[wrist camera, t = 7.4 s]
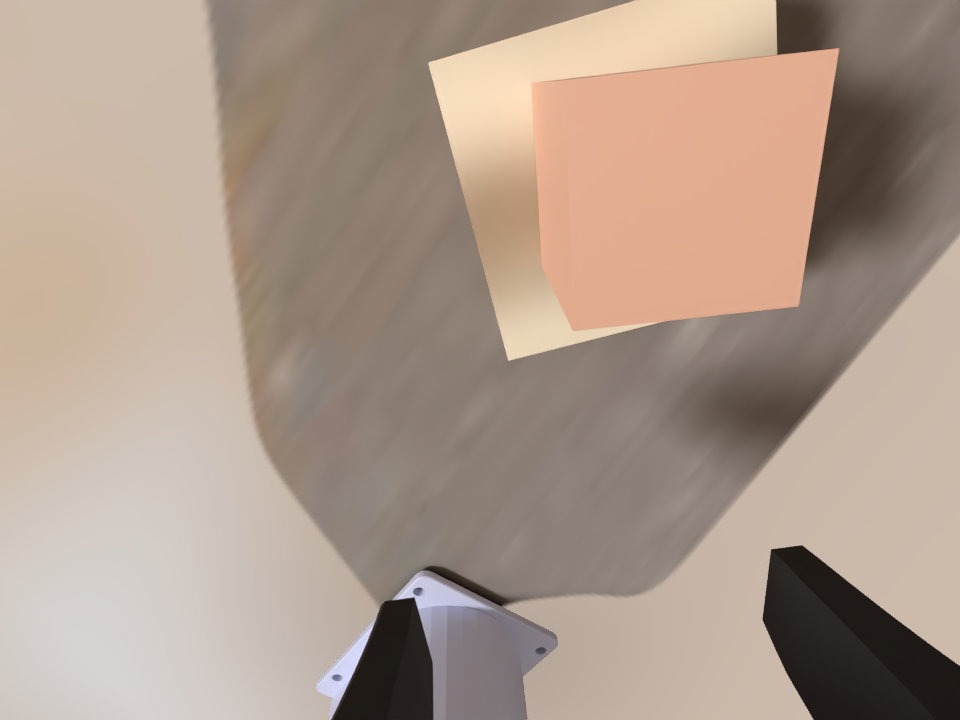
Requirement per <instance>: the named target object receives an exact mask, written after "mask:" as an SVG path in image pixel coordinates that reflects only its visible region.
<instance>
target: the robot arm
mask: <svg viewBox="0 0 960 720" xmlns="http://www.w3.org/2000/svg"><path fill="white" fill-rule="evenodd" d="M417 588H422V589H417ZM763 622H764V624H765V626H766V629H767V631H768V633H769V635H770V638H771V640H772V642H773V644H774V647H775V649H776V651H777V653H778V655H779V657H780V660H781V662H782V664H783V666H784V668H785V670H786V673H787V674H788V676H789V678H790V679H791V681H792V683H793V685H794V686H795V688H796V690H797V691H798V693H799V695H800V697H801V699H802V700H803V702H804V704H805V706H806V707H807V709H808V711H809V712H810V714H811V716H812V718H813V719H814V720H960V666H959V665H958V664H956V663H955V662H953V661H952V660H951V659H949V658H948V657H946V656H945V655H943V654H942V653H941V652H939V651H938V650H937V649H935V648H934V647H933V646H931V645H930V644H928V643H927V642H926V641H924V640H923V639H922V638H920V637H919V636H917V635H916V634H915V633H914V632H912V631H911V630H910V629H908V628H907V627H906V626H904V625H903V624H902V623H900V622H899V621H898V620H896V619H895V618H894V617H892V616H891V615H890V614H889V613H887V612H886V611H885V610H883V609H882V608H881V607H880V606H878V605H877V604H876V603H874V602H873V601H872V600H871V599H869V598H868V597H867V596H865V595H864V594H863V593H862V592H860V591H859V590H858V589H857V588H855V587H854V586H853V585H851V584H850V583H849V582H848V581H846V580H845V579H844V578H843V577H841V576H840V575H839V574H838V573H836V572H835V571H834V570H833V569H831V568H830V567H829V566H828V565H826V564H825V563H824V562H822V561H821V560H820V559H819V558H818V557H816V556H815V555H814V554H812V553H811V552H810V551H808V550H807V549H806V548H805V547H804V546H802V545H801V546H794V547H787V548H779V549H772V550H771V556H770V563H769V572H768V580H767V588H766V596H765V604H764V613H763ZM557 644H558V642H557V637H556V635H555V634H554V633H553V632H551V631H549V630H547V629H545V628H543V627H541V626H539V625H536V624H535V623H533V622H531V621H529V620H527V619H525V618H523V617H521V616H518V615H517V614H515V613H513V612H511V611H509V610H507V609H505V608H503V607H501V606H499V605H497V604H495V603H493V602H491V601H489V600H487V599H485V598H483V597H481V596H479V595H477V594H475V593H473V592H471V591H469V590H467V589H465V588H463V587H461V586H459V585H457V584H455V583H453V582H451V581H449V580H447V579H445V578H443V577H441V576H439V575H437V574H435V573H433V572H431V571H421V572H419V573H417V574H416V575H415V576H414V577H413V578H412V579H411V580H410V581H409V582H408V584H407V585H406V586H405V587H404V588H403V589H402V590H401V591H400V592H399V593H398V594H397V595H396V596H395V598H394V599H393V600H391V601H385V602H384V603H383V604H382V605H381V607H380V610H379V613H378V615H377V617H376V618H375V619H374V620H373V621H372V622H371V623H370V624H369V626H368V627H367V628H366V629H365V630H364V631H363V632H362V633H361V634H360V635H359V636H358V637H357V638H356V640H355V641H354V642H353V643H352V644H351V645H350V646H349V647H348V648H347V649H346V650H345V651H344V653H342V655H341V656H340V657H339V658H338V659H337V660H336V661H335V662H334V663H333V664H332V665H331V666H330V667H329V669H328V670H327V671H326V672H325V673H324V674H323V675H322V676H321V677H320V678H319V680H318V683H317V690H318V691H319V692H320V693H321V694H323V695H326V696H329V697H331V698H332V703H331V709H330V713H329V718H328V720H527V713H526V704H525V695H524V687H523V678H522V677H523V676H524V675H525V674H526V673H527V672H528V671H529V670H531V669H532V668H533V667H534V666H535V665H536V664H538V663H539V662H540V661H541V660H542V659H543V658H544V657H546V656H547V655H548V654H549V653H550V652H551V651H552V650H554V649H555V648H556V646H557Z"/></svg>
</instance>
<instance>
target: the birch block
mask: <svg viewBox="0 0 960 720" xmlns="http://www.w3.org/2000/svg"><path fill="white" fill-rule="evenodd" d="M771 55H777V22H776V0H636V1H632V2H629V3H626V4H622V5H619V6H616V7H612V8H609V9H606V10H602V11H599V12H596V13H592V14H589V15H586V16H582V17H579V18H576V19H572V20H569V21H566V22H562V23H559V24H556V25H552V26H549V27H546V28H542V29H539V30H536V31H532V32H529V33H526V34H522V35H519V36H516V37H512V38H509V39H506V40H502V41H499V42H496V43H492V44H489V45H486V46H482V47H479V48H476V49H472V50H469V51H466V52H462V53H459V54H456V55H452V56H449V57H446V58H442V59H439V60H436V61H432V62H429V63H428V64H429V67H430V71H431V75H432V79H433V82H434V86H435V90H436V93H437V97H438V101H439V105H440V108H441V112H442V116H443V119H444V123H445V127H446V131H447V134H448V138H449V142H450V145H451V149H452V153H453V157H454V160H455V164H456V168H457V171H458V175H459V179H460V183H461V186H462V190H463V194H464V197H465V201H466V205H467V209H468V212H469V216H470V220H471V223H472V227H473V231H474V235H475V238H476V242H477V246H478V249H479V253H480V257H481V261H482V264H483V268H484V272H485V275H486V279H487V283H488V287H489V290H490V294H491V298H492V301H493V305H494V309H495V312H496V316H497V320H498V324H499V327H500V331H501V335H502V338H503V342H504V346H505V350H506V353H507V357H508V361H509V360H513V359H517V358H521V357H525V356H529V355H533V354H537V353H541V352H545V351H549V350H553V349H557V348H561V347H564V346H568V345H572V344H576V343H580V342H584V341H588V340H592V339H596V338H600V337H604V336H608V335H612V334H616V333H620V332H624V331H628V330H631V329H635V328H639V327H643V326H647V325H651V324H655V323H659V322H652V323H643V324H634V325H625V326H616V327H607V328H598V329H589V330H580V331H573V330H572V328H571V326H570V324H569V322H568V320H567V318H566V316H565V314H564V312H563V310H562V308H561V306H560V303H559V301H558V299H557V297H556V295H555V293H554V291H553V289H552V287H551V285H550V283H549V281H548V279H547V276H546V274H545V272H544V270H543V268H542V262H541V244H540V227H539V209H538V192H537V174H536V157H535V139H534V122H533V104H532V87H531V83H536V82H544V81H553V80H561V79H570V78H579V77H587V76H596V75H604V74H613V73H622V72H630V71H639V70H647V69H656V68H665V67H673V66H682V65H690V64H699V63H707V62H716V61H725V60H734V59H744V58H753V57H762V56H771ZM661 322H663V321H661Z"/></svg>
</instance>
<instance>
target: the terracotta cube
mask: <svg viewBox="0 0 960 720" xmlns="http://www.w3.org/2000/svg"><path fill="white" fill-rule="evenodd" d="M838 53H839V48H837V49H827V50H818V51H809V52H799V53H790V54H781V55H771V56H762V57H753V58H744V59H734V60H725V61H716V62H707V63H699V64H690V65H682V66H673V67H665V68H656V69H647V70H639V71H630V72H622V73H613V74H604V75H596V76H587V77H579V78H570V79H561V80H553V81H544V82H536V83H531V87H532V104H533V122H534V139H535V157H536V174H537V192H538V209H539V227H540V244H541V262H542V268H543V270H544V272H545V274H546V276H547V279H548V281H549V283H550V285H551V287H552V289H553V291H554V293H555V295H556V297H557V299H558V301H559V303H560V306H561V308H562V310H563V312H564V314H565V316H566V318H567V320H568V322H569V324H570V326H571V328H572V330H573V331H580V330H589V329H598V328H607V327H616V326H625V325H634V324H643V323H652V322H661V321H670V320H679V319H688V318H697V317H706V316H715V315H724V314H733V313H742V312H751V311H760V310H769V309H778V308H787V307H796V306H799V300H800V294H801V287H802V281H803V275H804V268H805V262H806V256H807V249H808V243H809V237H810V230H811V224H812V218H813V211H814V205H815V199H816V192H817V186H818V180H819V173H820V167H821V161H822V154H823V148H824V142H825V135H826V129H827V123H828V116H829V110H830V104H831V97H832V91H833V85H834V78H835V72H836V66H837V59H838Z"/></svg>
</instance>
